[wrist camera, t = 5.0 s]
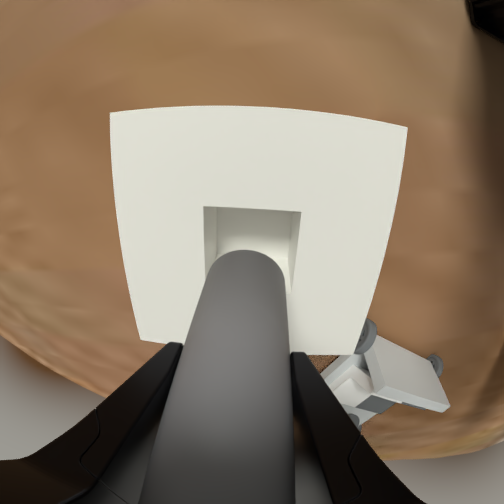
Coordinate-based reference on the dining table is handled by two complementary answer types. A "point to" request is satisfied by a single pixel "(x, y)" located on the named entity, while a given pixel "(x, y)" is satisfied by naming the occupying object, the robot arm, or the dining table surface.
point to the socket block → (255, 211)
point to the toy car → (384, 378)
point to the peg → (230, 395)
